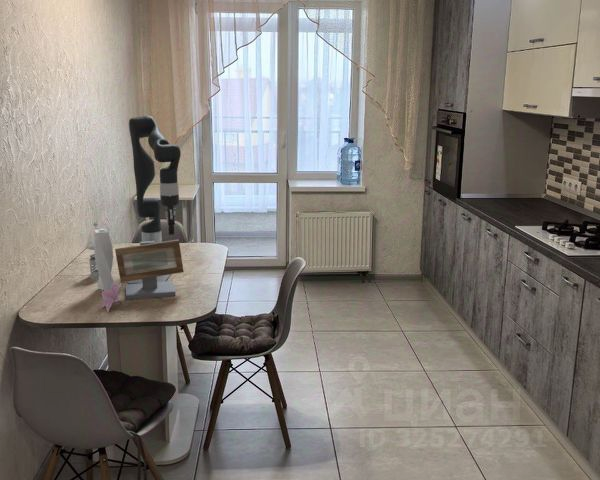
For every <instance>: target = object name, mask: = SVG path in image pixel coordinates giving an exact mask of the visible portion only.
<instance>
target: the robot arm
mask: <svg viewBox="0 0 600 480" xmlns="http://www.w3.org/2000/svg"><path fill="white" fill-rule="evenodd" d="M128 128H129V136H130V140H131V141H130V142H131V148H132V149H131V150H132V158H133V159H132V161H133V174H134V181H135V186H136V187H135V190H136V211H137V215H138V217H139V218H143V219H144V218H145V219H146V218H153V219H152V220H151V221H148V222H147V223H144V224H143V225H141V227H140V228H141V229H140V230H141V242H144V241H155V243H158V242H163V238H162V223H161V206H164V207H166V208H165V211H164V212H165V216H166V221H167V226H168V234H169V235H170V236H174V235H175V225H176V223H175V222H176V214H177V213H176V208H174V207H175V206H178V205H180V192H179V190H180V188H179V184H178V169H179V168H178V167H179V164H180V159H181V153H182V152H181V148H180V147H179V146H178V144H170V143H169V141H168V140H167V139H166V138H165V136H163V134H162V132H161V130H160V128H159V126H158V124H157V122H156V120H155V118H153V116H151V115H141V116H135V117H131V118H130V119H129V121H128ZM144 138H147V142H148V145H149V147H150V148H151V149H152V150H153V154H154V155H153V156H154V159H155V161H157V162H158V163H169V165H168V166H165V167H163V168H161V169H160V170H159V184H160V185H159V196H160V199H159V198H157V197H145V193H146V192H147V189H148V188H149V186H151V184H152V182H153V180H154V178H155V175H156V170H155V168H156V166H155V161H154V160H153V158H152V157H151V156H150V155H149V153H148V152H147V151H146V150H145V148H144V147H143V146H142V144H141V142H140V139H144ZM144 197H145V198H144Z"/></svg>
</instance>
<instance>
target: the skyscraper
mask: <svg viewBox="0 0 600 480" xmlns="http://www.w3.org/2000/svg"><path fill="white" fill-rule="evenodd" d="M93 244H94V250H93V251H94V253H93V254H95V261H96V266H97V268H96V269H98V272H99V279H98V281H97V290H99V289H101V290H100V291H103V290H104V291H105V290H110V289H111V286H112V284H113V283H114V284H115V282H114V279H113V278H114V277H113V276H112V270H113V263H114V250H113V243H112V239H111V236H110V226H109V225H107V226H106V228H99V229H97V228H95V230H94V243H93Z"/></svg>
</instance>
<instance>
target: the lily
mask: <svg viewBox="0 0 600 480" xmlns="http://www.w3.org/2000/svg"><path fill="white" fill-rule="evenodd" d="M122 285H123V284H122V283H119V284H117V285H116V284H115V282H114V283H113V284H112V286H111V289H110V290H105V291H103V290H102V291H101V296H102V298H103V299H104V301H103V303H102V306H101V308H104V307H105V309H106V312H107V313H109V311H110V309H111V307H112V304H113V303H114V302H118V303H120V305H121V306H122V305H123V303H122V302H121V301H120V300H121V297H120V296H119V295H118V292H119V290H120V288H121V286H122Z"/></svg>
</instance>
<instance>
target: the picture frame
mask: <svg viewBox="0 0 600 480" xmlns="http://www.w3.org/2000/svg"><path fill="white" fill-rule="evenodd" d="M114 252H115V257H116V258H115V259H116V264H117V269H118V275H119V280H120V283H126V282H128V281H133V280H139V279H145V278H151V277H157V276H163V275H169V274H172V275H174V274H181V273H184V264H183V259H182V252H181V245H180V240H179V238H178V239H173V240H172V239H171V240H165V241H162V242H158V243H151V244H145V245H140V244H139V245H134V246H127V247H120V248H115V249H114Z"/></svg>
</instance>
